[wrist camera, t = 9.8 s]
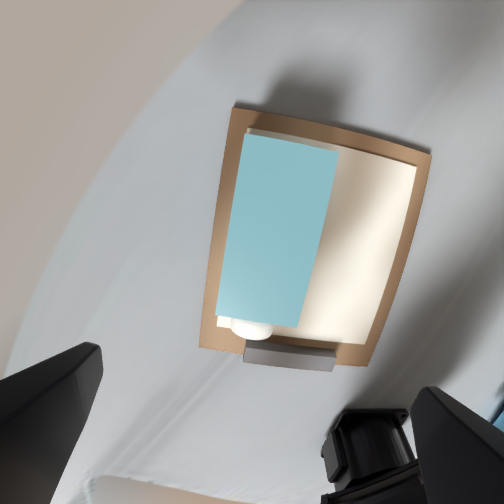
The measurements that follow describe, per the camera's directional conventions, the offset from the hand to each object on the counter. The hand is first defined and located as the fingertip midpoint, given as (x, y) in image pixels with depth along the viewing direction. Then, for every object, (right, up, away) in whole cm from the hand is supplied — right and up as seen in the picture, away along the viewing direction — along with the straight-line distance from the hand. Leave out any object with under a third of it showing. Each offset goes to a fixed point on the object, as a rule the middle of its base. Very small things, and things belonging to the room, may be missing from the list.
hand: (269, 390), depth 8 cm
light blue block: (0, +5, +10) cm, 11 cm away
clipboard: (+3, +3, +11) cm, 12 cm away
